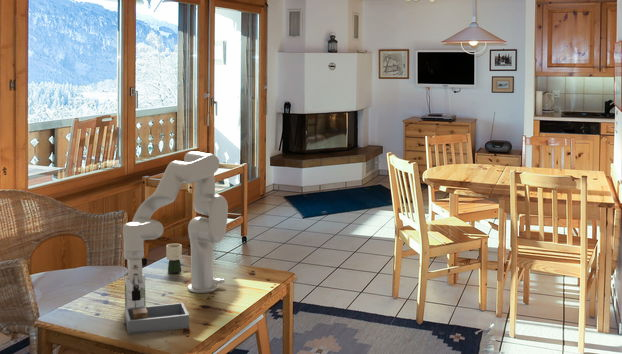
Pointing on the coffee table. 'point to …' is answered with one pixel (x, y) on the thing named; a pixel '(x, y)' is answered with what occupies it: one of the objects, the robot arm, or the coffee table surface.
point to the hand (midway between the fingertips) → (135, 296)
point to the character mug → (174, 257)
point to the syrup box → (128, 294)
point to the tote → (158, 318)
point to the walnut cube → (140, 313)
